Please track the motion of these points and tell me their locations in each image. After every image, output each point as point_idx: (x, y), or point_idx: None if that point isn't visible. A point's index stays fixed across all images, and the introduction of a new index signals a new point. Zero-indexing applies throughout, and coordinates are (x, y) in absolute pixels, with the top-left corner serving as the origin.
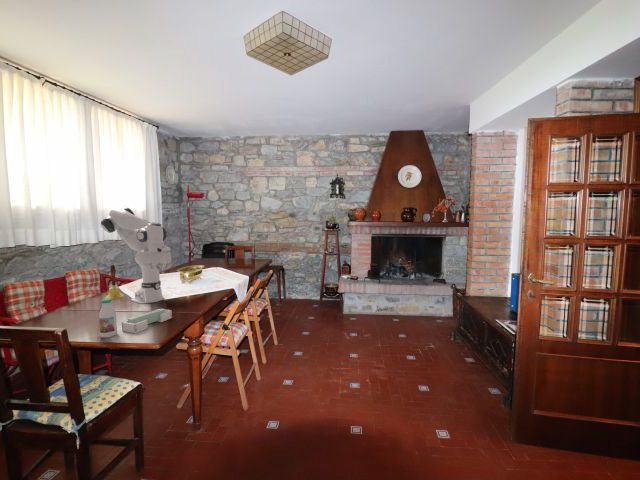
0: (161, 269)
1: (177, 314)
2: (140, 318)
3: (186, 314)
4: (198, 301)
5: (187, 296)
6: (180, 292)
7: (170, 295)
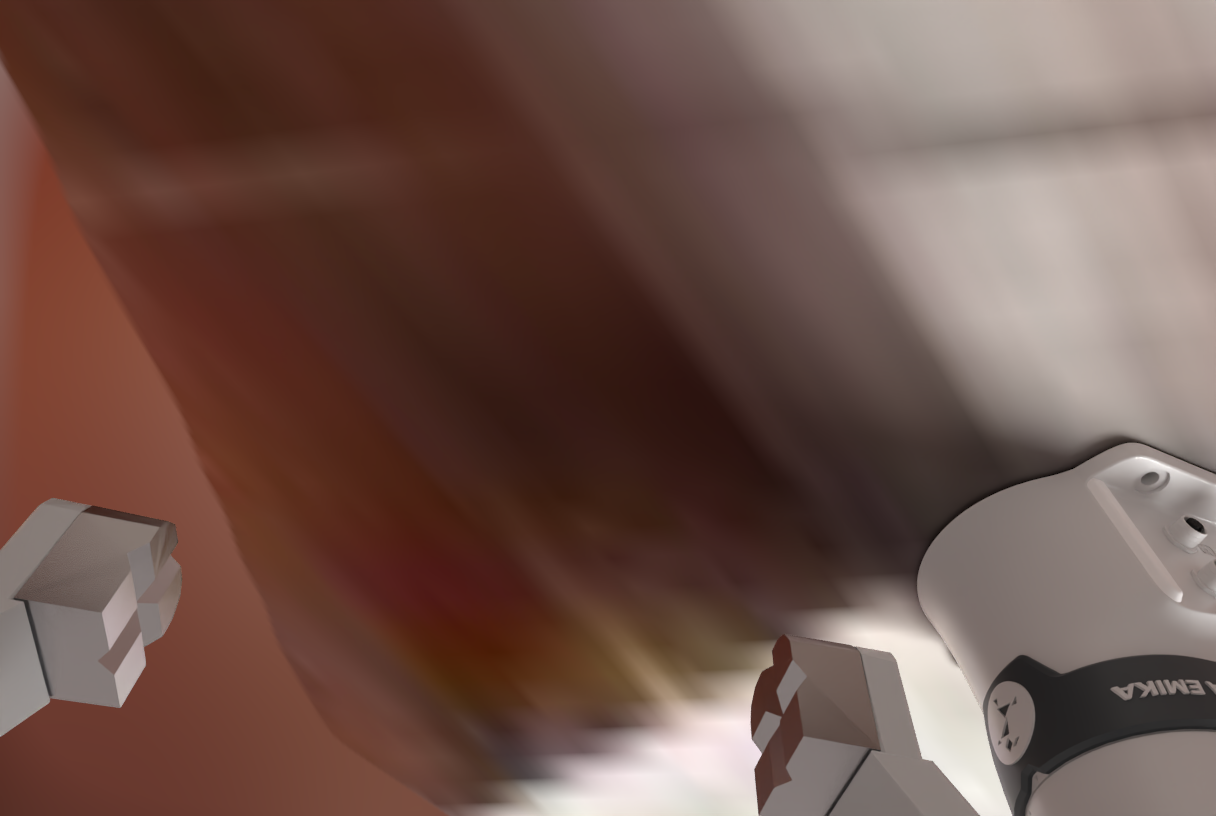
0: (122, 535)
1: (318, 68)
2: None
3: (187, 86)
4: (429, 565)
5: (676, 695)
6: None
7: None
